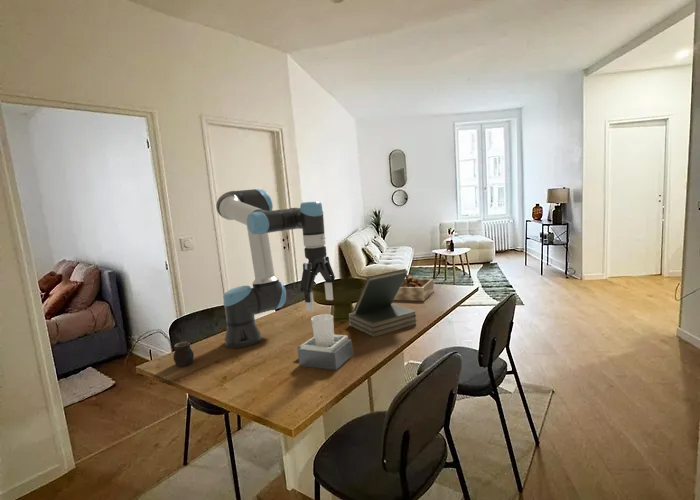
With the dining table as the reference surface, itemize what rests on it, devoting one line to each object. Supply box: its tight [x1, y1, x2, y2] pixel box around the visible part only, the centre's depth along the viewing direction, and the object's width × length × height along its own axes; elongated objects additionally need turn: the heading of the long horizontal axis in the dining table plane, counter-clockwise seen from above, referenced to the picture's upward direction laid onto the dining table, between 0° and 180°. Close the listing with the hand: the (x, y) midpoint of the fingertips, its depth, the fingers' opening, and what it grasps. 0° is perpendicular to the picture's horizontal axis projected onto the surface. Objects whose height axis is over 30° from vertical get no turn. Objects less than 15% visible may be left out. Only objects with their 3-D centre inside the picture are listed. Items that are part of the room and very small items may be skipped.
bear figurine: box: [405, 272, 421, 287], centre depth 221 cm, size 14×15×12 cm
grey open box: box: [297, 333, 354, 371], centre depth 143 cm, size 19×13×8 cm
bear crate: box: [393, 278, 435, 302], centre depth 221 cm, size 21×21×7 cm
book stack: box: [348, 268, 417, 338], centre depth 174 cm, size 23×20×25 cm
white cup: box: [310, 313, 335, 347], centre depth 141 cm, size 8×8×10 cm
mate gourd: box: [173, 339, 195, 367], centre depth 151 cm, size 7×8×10 cm
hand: (320, 305), depth 140 cm, fingers open, 13 cm apart
